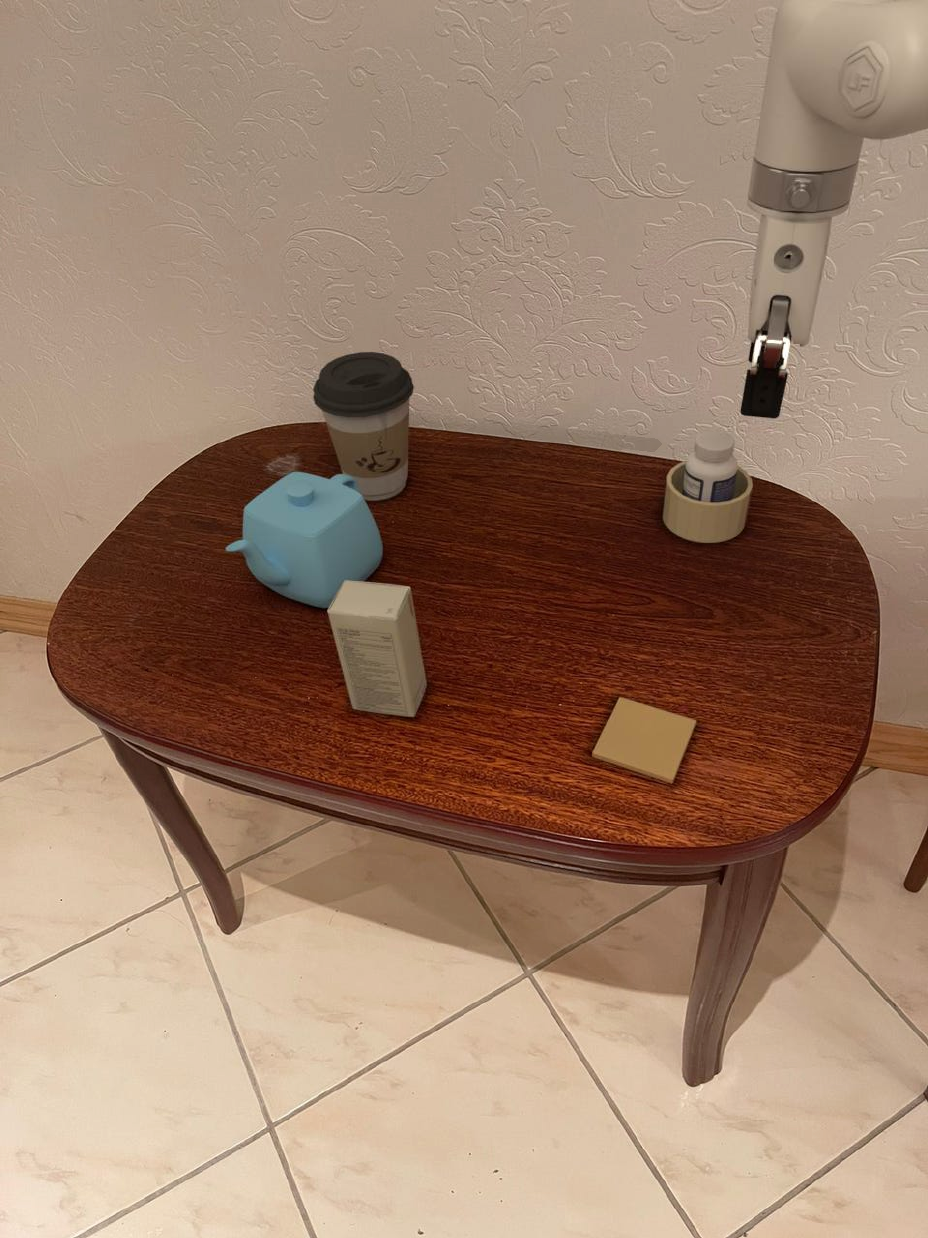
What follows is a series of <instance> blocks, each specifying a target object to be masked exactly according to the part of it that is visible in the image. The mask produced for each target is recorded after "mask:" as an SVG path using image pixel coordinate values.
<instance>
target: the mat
mask: <svg viewBox="0 0 928 1238" xmlns="http://www.w3.org/2000/svg"><path fill="white" fill-rule="evenodd" d="M696 726H697V720H696V719H694V718H690V717H687V716H683V715H680V714H677V713H673V712H671V711H667V710H665V709H661V708H658V707H654V706H652V705H648V704H644V703H641V702H638V701H635V700H631V699H628V698H625V697H623V696H622V697H621V696H619V698H618V699H617V701H616V703H615V705H614V707H613V709H612V712H611V714H610V716H609V718H608V719H607V722H606V724H605V726H604V728H603V730H602V732H601V734H600V736H599V738H598V740H597V742H596V743H595V745H594V748H593V750H592V753H591V757H592V758H594V759H597V760H600V761H604V762H606V763H609V764H611V765H615V766H618V767H621V768H623V769H627V770H629V771H633V772H636V773H639V774H642V775H645V776H647V777H650V778H653V779H656V780H660V781H662V782H665V783H668V784H672V785H673V783H674V781H675V778H676V776H677V773H678V771H679V769H680V766H681V763H682V761H683V758H684V756H685V753H686V751H687V749H688V746H689V743H690V740H691V739H692V736H693V734H694V730H695V729H696Z"/></svg>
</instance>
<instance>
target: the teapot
mask: <svg viewBox="0 0 928 1238" xmlns="http://www.w3.org/2000/svg"><path fill="white" fill-rule="evenodd" d="M225 551H226V552H232V553H234V552H237V553H241V554H242V555H243V556H244V558H245V561H246V565H247V568H248V570H249V571H250V572H251V573H252V575H253V576H254V578H256V579H257V580H258V581H259V582H260V583H261V584H263V585H264V586H266V587H268V588H269V589H271V590H272V591H274V592H275V593H278V594H279V595H280V596H283V597H285V598H287V599H290V600H293V601H296V602H299V603H302V604H305V605H309V606H312V607H316V608H322V609H328V608H329V606H330V605H331V603H332V601H333V599H334V598H335V596H336V594H337V592H338V591H339V589H340V587H341V586H342V584H343V582H344V581H345V580H348V581H361V582H366V580H367V579H368V578H369V577H370V576H371V575H372V574H373V573H374V572H375V571H376V570H377V569H378V567H379V566H380V564H381V562H382V559H383V553H384V552H383V551H384V547H383V541H382V538H381V533H380V531H379V527H378V525H377V522H376V519H375V518H374V515H373V513H372V511H371V509H370V508H369V506H368V503H367V502H366V500H364V498H363V496H362V495H361V494H360V493H358V484H357V482H356V480H355V479H354V478H353V477H351V476H349V475H346V474H343V473H338V474H335V475H333V476H332V477H331V478H327V477H323V476H320V475H317V474H312V473H308V472H302V471H293V472H290V473H288V474H287V475H285V476H283V477H282V478H281V479H279V480H277V481H276V482H275V483H273V484H272V485H271V486H269V487H268V488H267V489H265V490H264V491H263V492H261V493H260V494H259V495H257V496H256V497H255V498H253V499H252V500H251V501H250V502H249V503H248V504H246V505H245V506H244V508H243V516H242V539H239V540H236V541H234V542H231V543H230V544H228V545H227V546H226V547H225Z"/></svg>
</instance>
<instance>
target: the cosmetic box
mask: <svg viewBox="0 0 928 1238" xmlns="http://www.w3.org/2000/svg"><path fill="white" fill-rule="evenodd" d="M326 612H327V615H328V620H329V623H330V627H331V630H332V634H333V638H334V639H333V640H334V642H335V646H336V650H337V654H338V658H339V662H340V666H341V670H342V673H343V677H344V681H345V686H346V689H347V693H348V697H349V700H350V705H351V708H352V709H353V710H357V711H361V712H369V713H375V714H376V713H377V714H384V715H391V716H399V717H408V718H415V717H416V714H417V713H418V710H419V708H420V704H421V703H422V700H423V698H424V695H425V692H426V689H427V686H428V683H427V678H426V671H425V666H424V660H423V653H422V648H421V641H420V636H419V629H418V623H417V618H416V612H415V607H414V601H413V595H412V588H411V587H410V586H407V585H400V584H392V583H381V582H373V581H372V582H371V581H364V582H361V581H348V580H345V581H344V582H343V584H342V586H341V587H340V589H339V591H338V592H337V594H336V596H335V598H334V599H333V601H332V603H331V605H330V606H329V608H327V611H326Z"/></svg>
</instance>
